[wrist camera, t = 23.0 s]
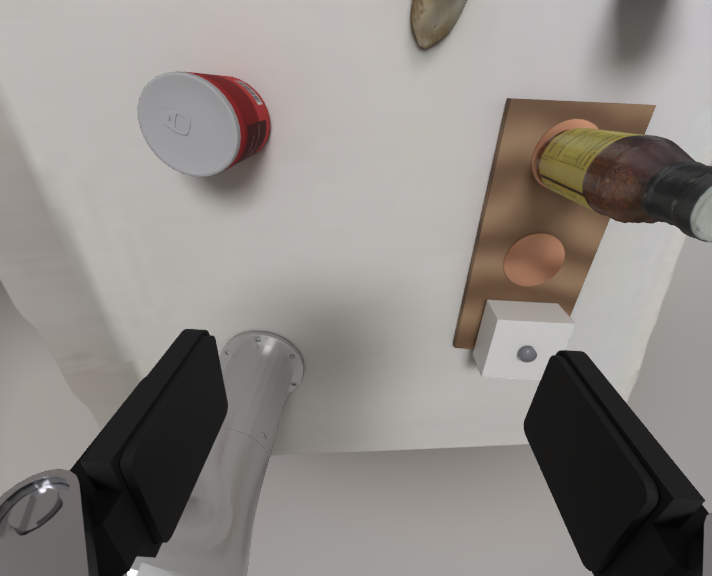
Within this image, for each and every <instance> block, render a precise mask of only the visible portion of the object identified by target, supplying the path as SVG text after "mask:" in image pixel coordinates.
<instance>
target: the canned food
mask: <svg viewBox="0 0 712 576" xmlns="http://www.w3.org/2000/svg"><path fill="white" fill-rule="evenodd" d="M138 120H139V125H140V129H141V131H142V134H143V136H144V139H145V140H146V142H147V144H148V145H149V147H150V148H151V150H152V151H153V152H154V153H155V155H156V156H157V157H158V158H159V159H161V160H162V161H163V162H164V163H165V164H166V165H168V166H169V167H171V168H172V169H174V170H176V171H178V172H180V173H183V174H186V175H190V176H197V177H204V176H211V175H215V174H218V173H220V172H222V171H225V170H227V169H228V168H230V167H232V166H234V165H235V164H237V163H239V162H241V161H243V160H244V159H246V158H248V157H250V156H252V155H253V154H255V153H257V152H258V151H259V150H260V149H261V148H262V147H263V146H264V144H265V143H266V141H267V139H268V136H269V131H270V118H269V114H268V110H267V108H266V105H265V103H264V101H263V100H262V98H261V97H260V95H259V94H258V93H257V92H256V91H255V90H254V89H253V88H252V87H251V86H250V85H248V84H247V83H245V82H243V81H242V80H240V79H237V78H234V77H228V76H219V75H210V74H201V73H191V72H178V71H177V72H170V73H164V74H162V75H159V76H157V77H155V78H154V79H152V80H151V81H150V82H148V84H147V85H146V86H145V88H144V89H143V91H142V93H141V95H140V98H139V103H138Z"/></svg>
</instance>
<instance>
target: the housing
mask: <svg viewBox="0 0 712 576" xmlns="http://www.w3.org/2000/svg"><path fill="white" fill-rule="evenodd" d="M574 327H575V323H574V321H573V320H572V319H571V318H570V317H569V316H568V315H567V313H566V312H565V311H564V310H563V309H562V308H561V306H560V305H559V304H558V303H539V302H521V301H503V300H487V302H486V306H485V309H484V313H483V317H482V321H481V325H480V329H479V332H478V336H477V340H476V344H475V348H474V352H473V356H474V359H475V362H476V364H477V367H478V369H479V372H480V375H481V377H488V378H506V379H523V380H540V381H541V378H542V376H543V373H544V371H545V368H546V366H547V363H548V361H549V358H550V357H551V356H552V355H556V353H557V352H558V351H560V350H565V348H566V346H567V343H568V341H569V339H570V336H571V334H572V332H573V329H574Z"/></svg>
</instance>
